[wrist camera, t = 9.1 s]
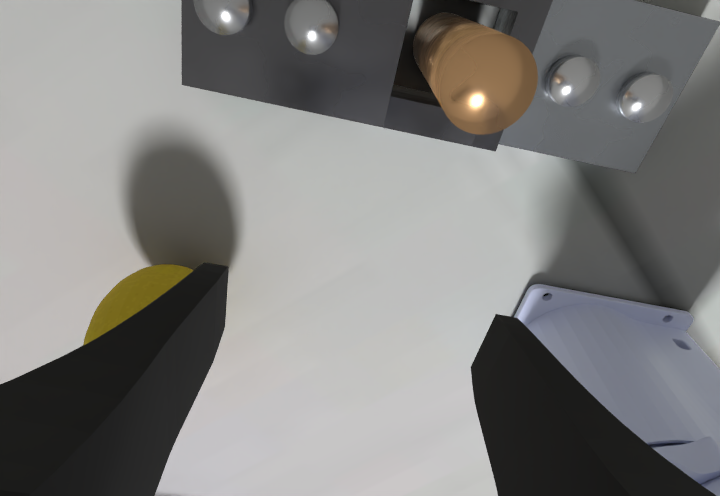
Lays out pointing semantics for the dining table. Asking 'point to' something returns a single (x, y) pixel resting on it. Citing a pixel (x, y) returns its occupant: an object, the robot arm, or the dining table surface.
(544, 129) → the chain joint
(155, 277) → the lemon
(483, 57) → the copper pin
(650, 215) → the dining table surface
